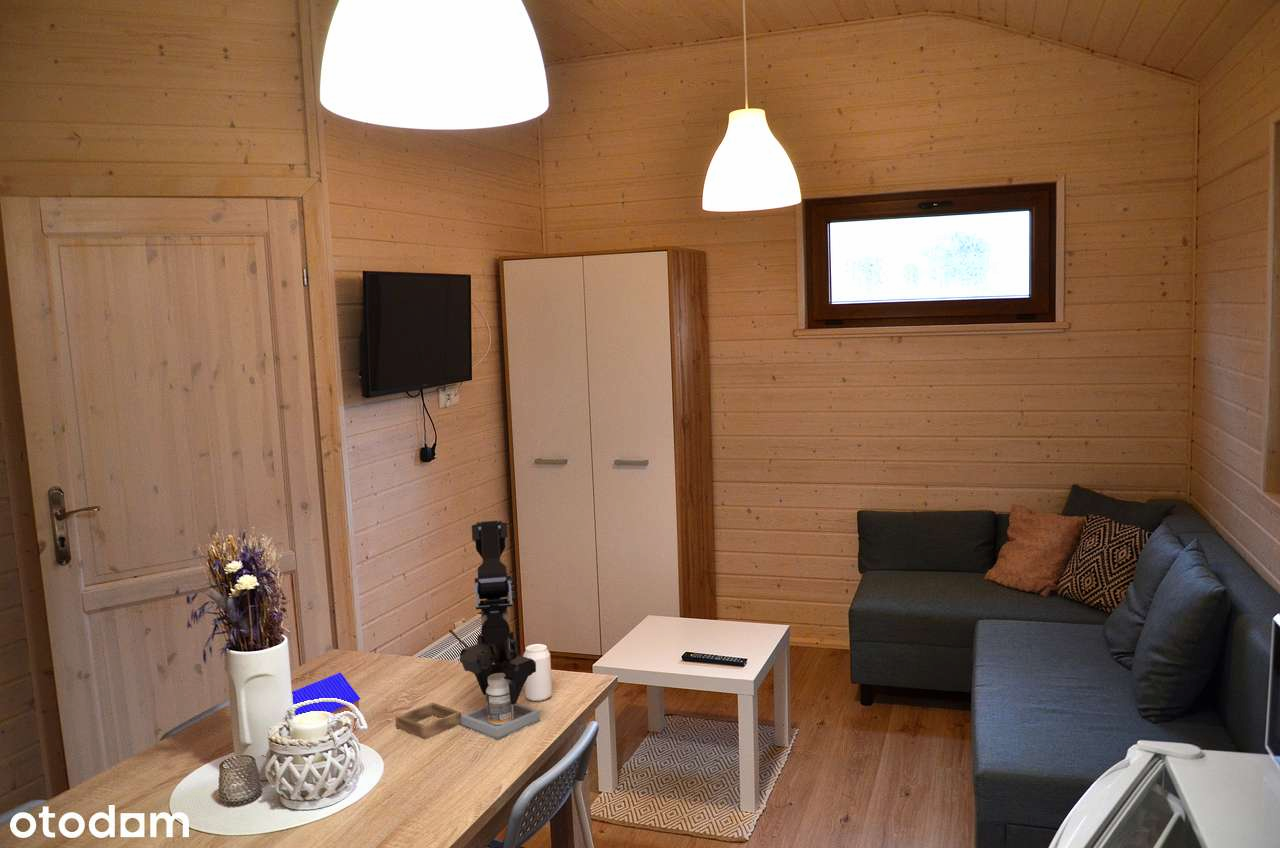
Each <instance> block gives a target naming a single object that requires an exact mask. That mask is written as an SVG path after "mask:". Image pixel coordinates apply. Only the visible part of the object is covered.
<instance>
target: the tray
mask: <svg viewBox="0 0 1280 848" xmlns="http://www.w3.org/2000/svg"><path fill="white" fill-rule="evenodd" d="M513 707H514V719H513V720H512V721H510V722H508V723H506V724H503V725H492V724H490V723H489V722H488V718H487V704H486V705H484V706H482V707H480V708H476V709H475V710H471V711H470V712H468V713H465V714H461V715H462V716H461V724H460V725H461V727H462V726H463V727H462V728H464V727H466V728H465V729H467V728H469V729H468V730H470V729H472V730H474V731H473V732H475V731H476V732H475V733H478V732H479V733H478V734H480V733H481V735H483V734H484V735H483V736H485V735H486V737H488V736H489V737H488V738H491V737H492V738H491V739H493V738H494V739H493V740H496V741H500V740H502V739H505V738H506V737H508V735H509V734H511V733H513V732H515V731H517V732H519V731H518V730H520V729H522V728H524V727H526V726H528V727H530V726H529V725H531V724H533V723H535V724H537V723H539V722H541V712H540V709H539V710H538V709H535V708H534V707H533V708H532V707H529V706H526V705H525V704H524V705H523V704H521V703H517V702H516V704H514V705H513ZM538 721H539V722H538ZM536 722H537V723H536ZM533 725H534V724H533ZM531 726H532V725H531ZM526 728H527V727H526ZM524 729H525V728H524ZM472 730H471V731H472ZM522 730H523V729H522ZM520 731H521V730H520ZM515 733H516V732H515ZM513 734H514V733H513ZM511 735H512V734H511ZM509 736H510V735H509Z"/></svg>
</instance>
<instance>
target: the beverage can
mask: <svg viewBox="0 0 1280 848" xmlns="http://www.w3.org/2000/svg"><path fill="white" fill-rule="evenodd" d="M522 656H523V657H527V658H530V659H533V660H534V661H535V662H536V672H534V673H532V675H529V676H528V678H527V680H526V682H525V684H524V696H525V698H527V699H528V700H529V701H531V700H532V701H531V702H535V701H539V702H543V701H542V700H544V701H546V700H548V699H549V698H550V697H551V696H552V695H553V683H552V663H551V661H552V660H551V653H550V651H549V649H548V646H547V645H546V644H543V643H533V644H530V645H526V647H525V651H524V653H523V655H522ZM547 698H548V699H547ZM545 699H546V700H545Z"/></svg>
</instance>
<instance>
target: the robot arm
mask: <svg viewBox="0 0 1280 848" xmlns="http://www.w3.org/2000/svg"><path fill="white" fill-rule="evenodd" d="M471 539H472V541H471V542H472V543H475V550H476V552H478V555H479V556H480V557H481V559H482V563H481V564H480V565H479V566H478V567H477V577H475V578H474V594H475V596H474V597H475V598H474V599H475V610H480V621H481V622H480V623H481V625H480V627H481V629H480V634H477V636H478V637H477V639H476V640H477V642H476V644H473V645H470V646H468V647H467V646H466V647H465V648H462V650H461V652H460V653H459V661H460V663H461V664H462V667H463V670H464V671H465V672H471V673H473V674H474V676H475V678H476V680H477V684H478V685H479V687H480V690H481V693H482V695H483V696H486V689H487V687H488V686H489V684H488V676H490V675H492V674H495V673H504V674H505V677H503V678H504V679H505V680H506V681H507V682H508V684H509V693H510V700H511V704H512V705H514V704H516V703H517V702H518V700H519V697H520V695H521V692H522V690H523V688H524V687H525V682H526V680H527V678H528V676H529V675H532V673H534V672H536V662H535V661H534V660H533V659H530V658H527V657H523V655H521V656H518V643H517V642H518V641H517V640H515V637H514V631H511V628H510V620H509V619H510V618H509V608H511V607H513V602H515V601H516V597H515V583H514V580H513V578H512V576H511V575H510V574H509V575H508V571H507V570H508V569H507V568H508V567H507V565H506V564H504V562H502V560H501V557H502V554H504V553H503V552H504V551H505V550H506V540H509V531H508V522H503V520H500V519H499V520H482V521H476V524H471ZM508 598H509V599H508Z"/></svg>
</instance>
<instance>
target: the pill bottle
mask: <svg viewBox="0 0 1280 848" xmlns="http://www.w3.org/2000/svg"><path fill="white" fill-rule="evenodd" d="M503 677H505V674H504V673H495V674H492V675H490V676H488V684H489V686H488V687H487V689H486V695H485V701H486V705H487V718H488V722H489V723H490V724H492V725H503V724H506V723H508V722H510V721H512V720H513V719H514V707H513V705H512V704H511V700H510V693H509V684H508V682H507V681H506V680H505V679H504V678H503Z"/></svg>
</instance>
